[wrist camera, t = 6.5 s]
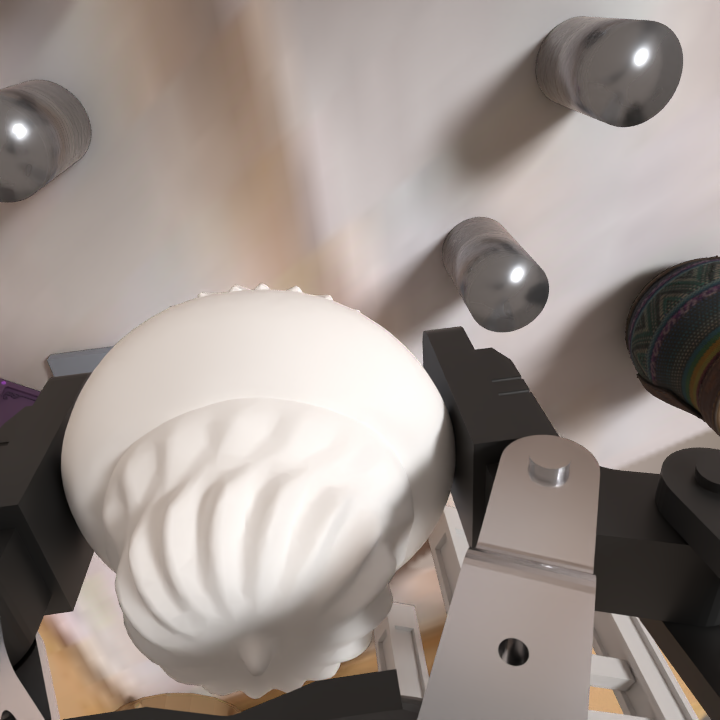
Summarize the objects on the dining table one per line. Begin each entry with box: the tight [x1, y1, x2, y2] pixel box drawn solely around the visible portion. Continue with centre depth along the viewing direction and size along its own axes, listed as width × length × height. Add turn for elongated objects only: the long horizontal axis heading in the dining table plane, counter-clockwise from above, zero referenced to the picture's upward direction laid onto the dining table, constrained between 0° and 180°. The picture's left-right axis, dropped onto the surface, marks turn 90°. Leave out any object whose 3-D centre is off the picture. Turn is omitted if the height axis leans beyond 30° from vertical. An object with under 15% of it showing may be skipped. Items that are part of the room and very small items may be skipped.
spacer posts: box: [0, 16, 683, 332], centre depth 21 cm, size 24×22×5 cm
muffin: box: [61, 283, 456, 699], centre depth 10 cm, size 6×6×7 cm
